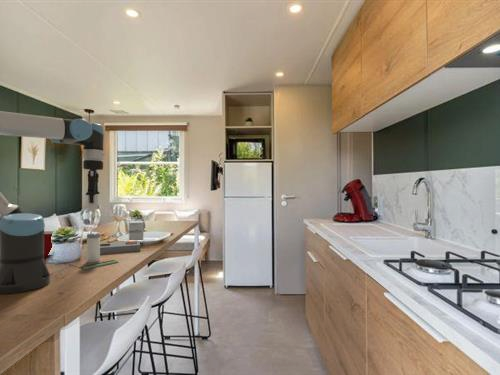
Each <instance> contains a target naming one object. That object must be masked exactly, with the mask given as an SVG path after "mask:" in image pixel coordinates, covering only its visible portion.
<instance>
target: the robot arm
mask: <svg viewBox="0 0 500 375" xmlns="http://www.w3.org/2000/svg"><path fill="white" fill-rule="evenodd" d="M0 136H9V137H24V138H25V137H26V138H39V139H49V140H50V141H51V142H52V143H54V144H55V143H56V144H60V145H61V144H67V145H76V146H82V148H83V150H82V154H83V155H82V156H83V157H82V159H83V162H82V165H83V166H82V168H83V169H84V170H87V171H88V173H87V192H85V196H87V212H96V210H97V209H99V207H98V206H99V204H98V203H99V195H100V191H99V177H100V176H99V175H100V174H99V172H97V171H101V170H102V171H103V169H104V161H103V160H104V156H105V153H104V137H105V135H104V127H103V126H102V124H99V123H96V122H93V123H92V122H89V121H87V120H86V119H85V118H75V119H69V118H61V117H53V116H45V115H35V114H27V113H20V112H10V111H4V110H0ZM45 227H46V225H45V220H44V217H43V216H42V215H40V214H37V213H27V212H26V213H24V210H22V209H21V208H20V206H19V205H18V204H14V203H13V204H11V203H10V202H9V201H8V200H7V198H6V197H5V195H3V193H2V192H1V191H0V294H3V295H4V294H15V293H16V294H17V293H18V294H19V293H22V292H29V291H33V290H37V289H40V288H42V287H45V286H47V285H49V284H50V283H51V274H50V271H49V269H48V267H47V264H46V261H45V259H44V231H45Z"/></svg>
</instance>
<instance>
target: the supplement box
mask: <svg viewBox="0 0 500 375" xmlns="http://www.w3.org/2000/svg"><path fill="white" fill-rule="evenodd" d="M144 222H145V221H144V220H132V221H129V223H128V241H129V240H143V241H144V225H145V223H144Z"/></svg>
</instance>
